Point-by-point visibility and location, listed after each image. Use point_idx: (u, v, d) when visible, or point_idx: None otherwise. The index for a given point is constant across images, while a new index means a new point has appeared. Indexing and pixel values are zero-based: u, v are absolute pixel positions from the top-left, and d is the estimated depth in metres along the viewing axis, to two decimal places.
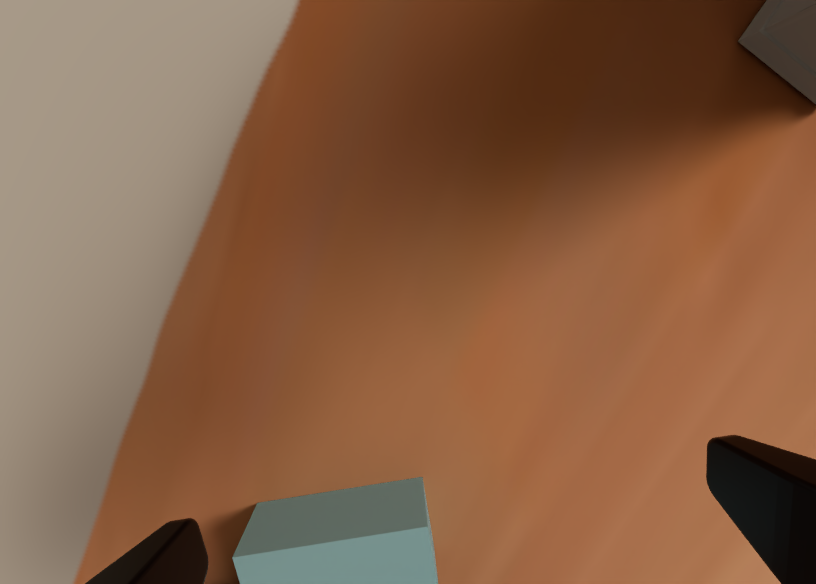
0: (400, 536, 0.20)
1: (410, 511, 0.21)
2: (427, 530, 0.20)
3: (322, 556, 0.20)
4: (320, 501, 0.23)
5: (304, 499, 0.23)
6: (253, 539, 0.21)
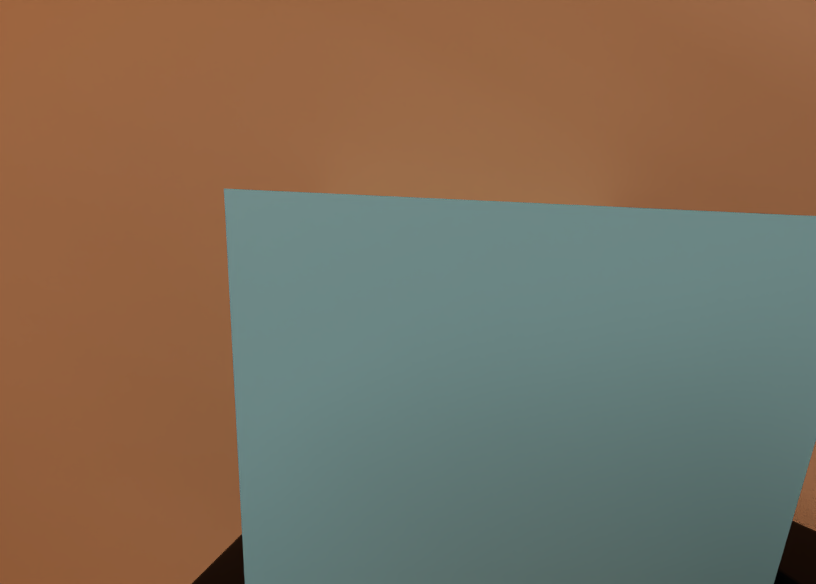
0: (271, 374, 0.03)
1: None
2: (262, 197, 0.03)
3: None
4: None
5: None
6: None
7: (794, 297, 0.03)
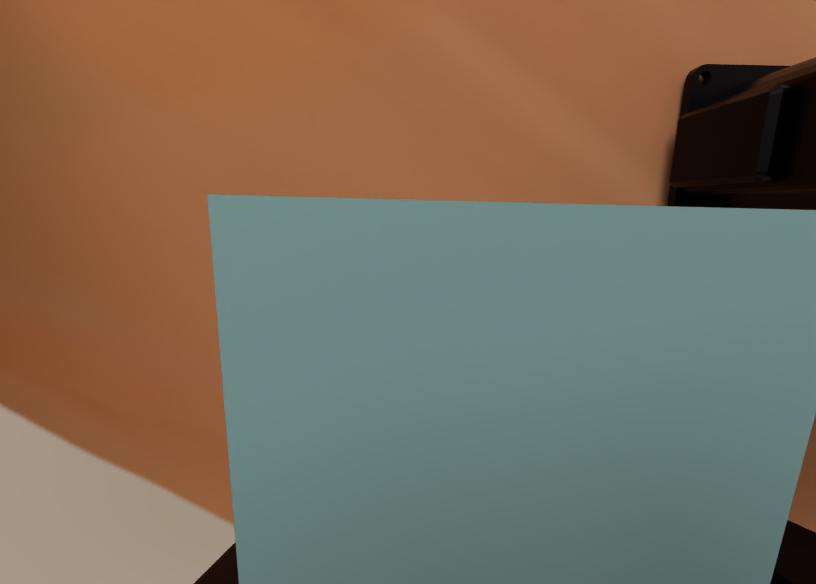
0: (261, 379, 0.03)
1: None
2: (245, 202, 0.03)
3: None
4: None
5: None
6: None
7: (785, 292, 0.03)
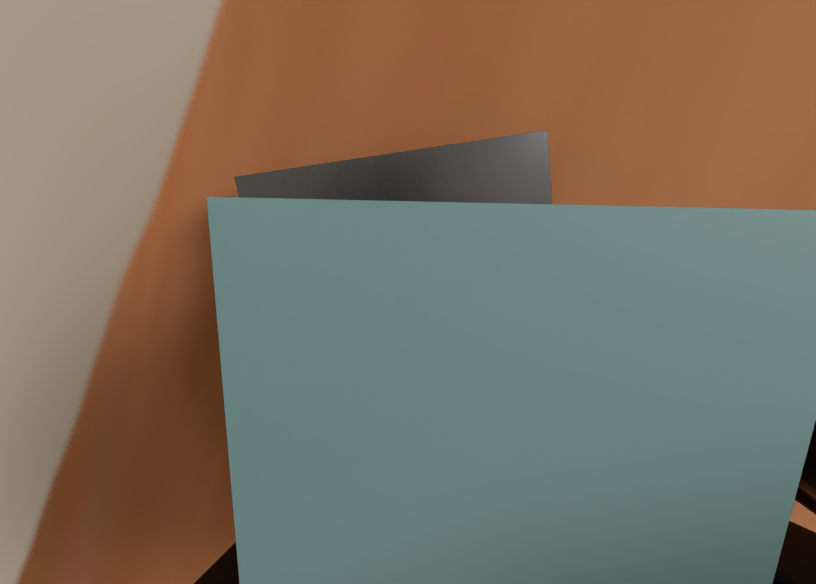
0: (261, 383, 0.03)
1: None
2: (245, 205, 0.03)
3: None
4: None
5: None
6: None
7: (786, 292, 0.03)
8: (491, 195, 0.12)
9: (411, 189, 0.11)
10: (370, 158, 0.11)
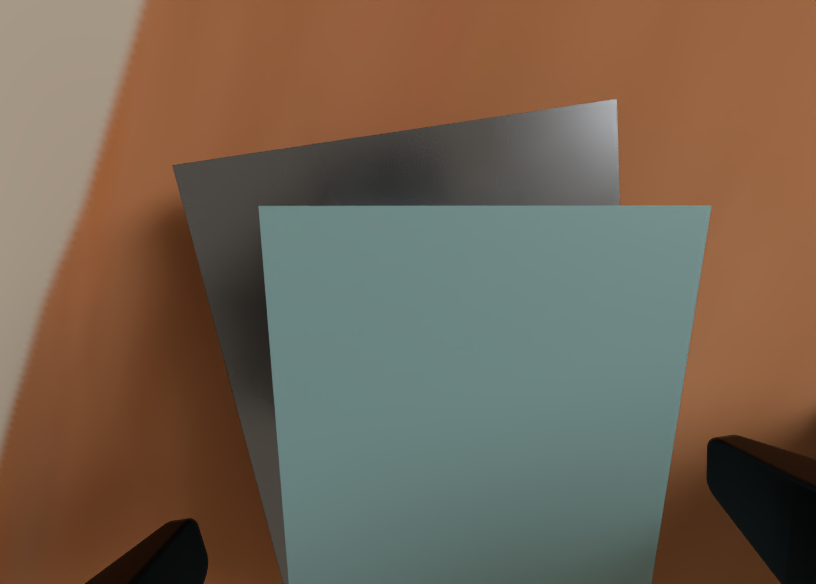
0: (295, 333, 0.05)
1: None
2: (284, 210, 0.04)
3: None
4: None
5: None
6: None
7: (657, 262, 0.05)
8: (535, 191, 0.08)
9: (423, 183, 0.08)
10: (365, 139, 0.08)
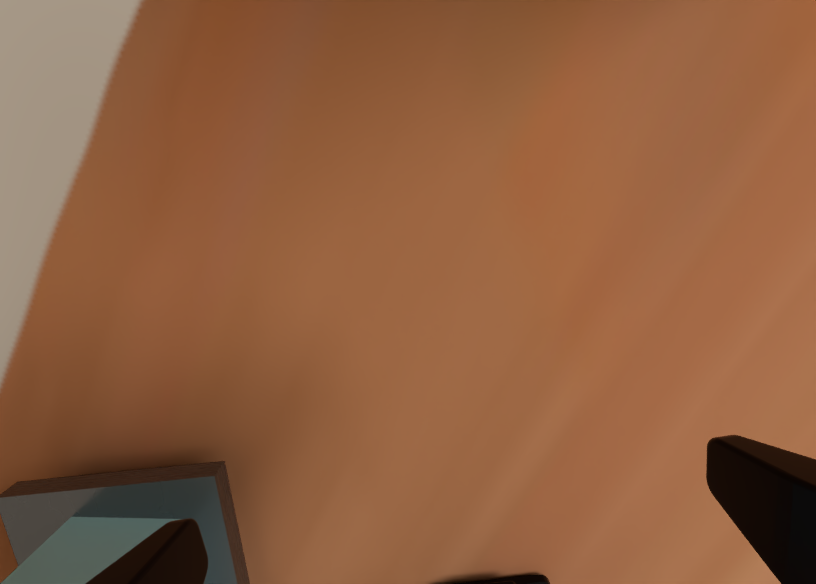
0: None
1: None
2: None
3: None
4: None
5: None
6: None
7: None
8: (179, 513, 0.17)
9: (121, 508, 0.16)
10: (90, 489, 0.16)
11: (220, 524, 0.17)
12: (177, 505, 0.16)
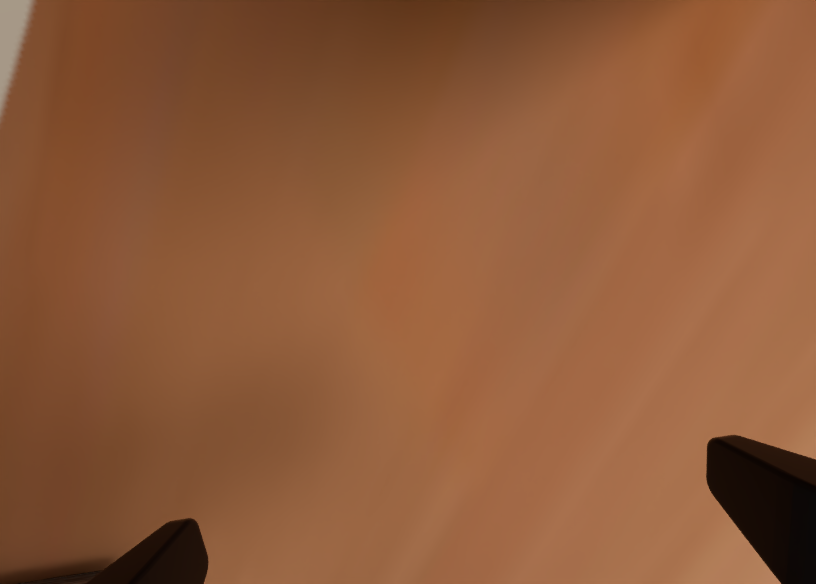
0: None
1: None
2: None
3: None
4: None
5: None
6: None
7: None
8: None
9: None
10: None
11: None
12: None
